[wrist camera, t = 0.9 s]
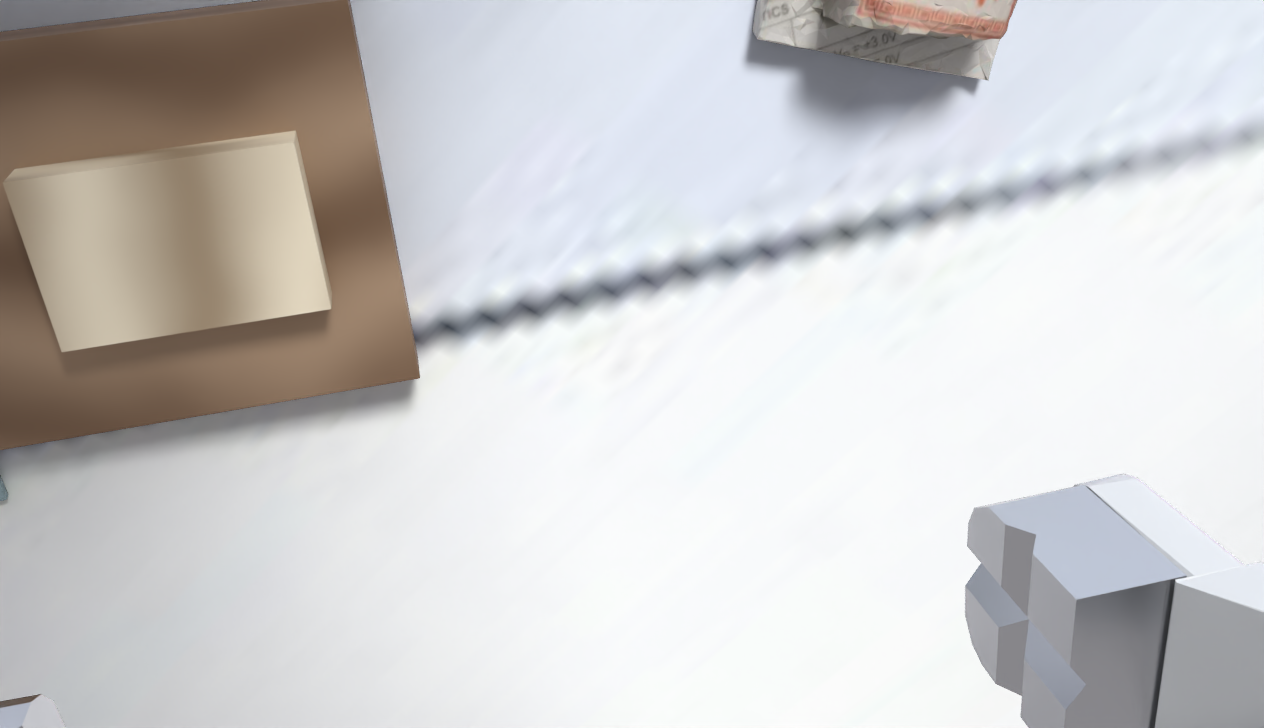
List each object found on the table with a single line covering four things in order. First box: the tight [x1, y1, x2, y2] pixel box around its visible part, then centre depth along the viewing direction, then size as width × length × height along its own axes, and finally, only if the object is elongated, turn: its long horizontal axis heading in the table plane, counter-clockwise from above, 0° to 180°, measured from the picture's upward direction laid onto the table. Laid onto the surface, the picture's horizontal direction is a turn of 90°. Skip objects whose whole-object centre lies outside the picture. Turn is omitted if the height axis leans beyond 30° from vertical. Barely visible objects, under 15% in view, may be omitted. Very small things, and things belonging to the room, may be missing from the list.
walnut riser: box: [0, 0, 420, 450], centre depth 40 cm, size 14×16×2 cm
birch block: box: [3, 131, 332, 352], centre depth 39 cm, size 9×6×2 cm, turn 95°
